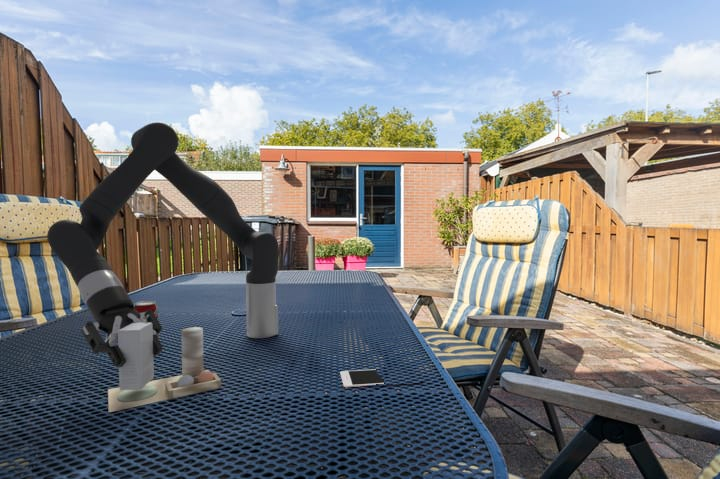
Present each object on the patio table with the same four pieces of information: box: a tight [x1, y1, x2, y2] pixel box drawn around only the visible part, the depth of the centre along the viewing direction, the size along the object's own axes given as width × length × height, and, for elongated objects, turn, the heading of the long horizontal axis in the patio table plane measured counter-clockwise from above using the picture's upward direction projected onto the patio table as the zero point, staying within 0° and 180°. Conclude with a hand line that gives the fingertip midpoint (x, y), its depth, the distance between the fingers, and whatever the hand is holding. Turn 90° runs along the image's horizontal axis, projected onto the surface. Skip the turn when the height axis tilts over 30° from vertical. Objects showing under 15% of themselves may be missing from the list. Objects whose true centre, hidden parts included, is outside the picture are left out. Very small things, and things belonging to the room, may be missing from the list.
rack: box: [107, 326, 222, 413], centre depth 82 cm, size 20×12×12 cm, turn 123°
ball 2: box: [198, 370, 214, 383], centre depth 83 cm, size 3×3×3 cm
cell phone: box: [339, 368, 384, 389], centre depth 91 cm, size 9×18×1 cm, turn 99°
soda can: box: [134, 300, 159, 339], centre depth 119 cm, size 7×7×12 cm
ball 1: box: [177, 375, 194, 387], centre depth 81 cm, size 3×3×3 cm
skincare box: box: [117, 323, 155, 390], centre depth 79 cm, size 6×4×12 cm
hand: (141, 358), depth 79 cm, fingers closed on skincare box, 7 cm apart
